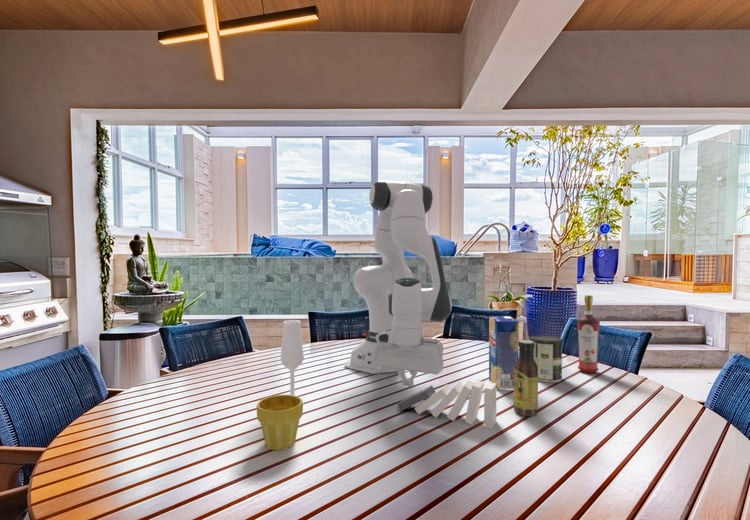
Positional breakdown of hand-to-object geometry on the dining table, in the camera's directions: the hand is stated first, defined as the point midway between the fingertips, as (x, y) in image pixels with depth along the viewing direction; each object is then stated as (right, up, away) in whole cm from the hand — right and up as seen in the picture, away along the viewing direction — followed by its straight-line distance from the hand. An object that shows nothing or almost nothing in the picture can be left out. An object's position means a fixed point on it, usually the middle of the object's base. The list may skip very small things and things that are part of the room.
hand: (407, 385), depth 117 cm
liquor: (+69, -6, +35) cm, 78 cm away
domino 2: (+3, -6, -1) cm, 7 cm away
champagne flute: (-33, -7, +5) cm, 35 cm away
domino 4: (+12, -6, -6) cm, 15 cm away
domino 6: (+20, -7, -10) cm, 24 cm away
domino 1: (-2, -6, +1) cm, 6 cm away
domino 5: (+16, -7, -8) cm, 19 cm away
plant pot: (-31, -8, -21) cm, 38 cm away
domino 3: (+7, -6, -4) cm, 10 cm away
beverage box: (+33, -6, +21) cm, 40 cm away
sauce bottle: (+32, -7, -3) cm, 33 cm away
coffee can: (+50, -6, +28) cm, 58 cm away
